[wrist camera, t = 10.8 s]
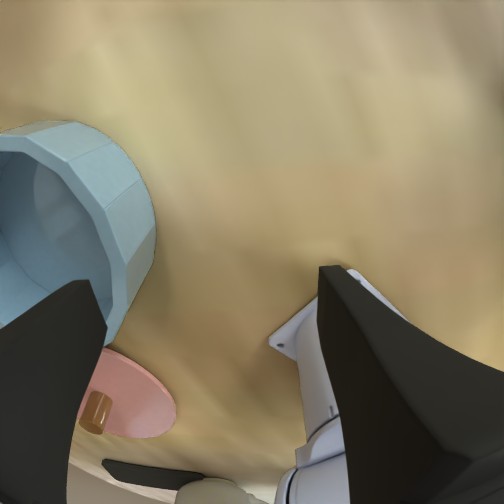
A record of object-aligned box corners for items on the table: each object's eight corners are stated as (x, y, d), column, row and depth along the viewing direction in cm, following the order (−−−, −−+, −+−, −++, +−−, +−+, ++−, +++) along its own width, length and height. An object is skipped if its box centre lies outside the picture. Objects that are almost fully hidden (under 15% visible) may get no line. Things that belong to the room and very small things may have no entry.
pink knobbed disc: (180, 357, 24) (169, 403, 20) (176, 441, 30) (170, 475, 26) (25, 316, 23) (0, 350, 18) (59, 408, 29) (46, 438, 25)
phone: (208, 493, 37) (116, 480, 37) (209, 489, 38) (117, 476, 38) (201, 477, 34) (98, 461, 34) (202, 471, 34) (99, 457, 34)
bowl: (167, 127, 16) (131, 142, 11) (153, 323, 22) (133, 379, 17) (-9, 121, 15) (-63, 137, 10) (9, 285, 21) (-26, 324, 16)
